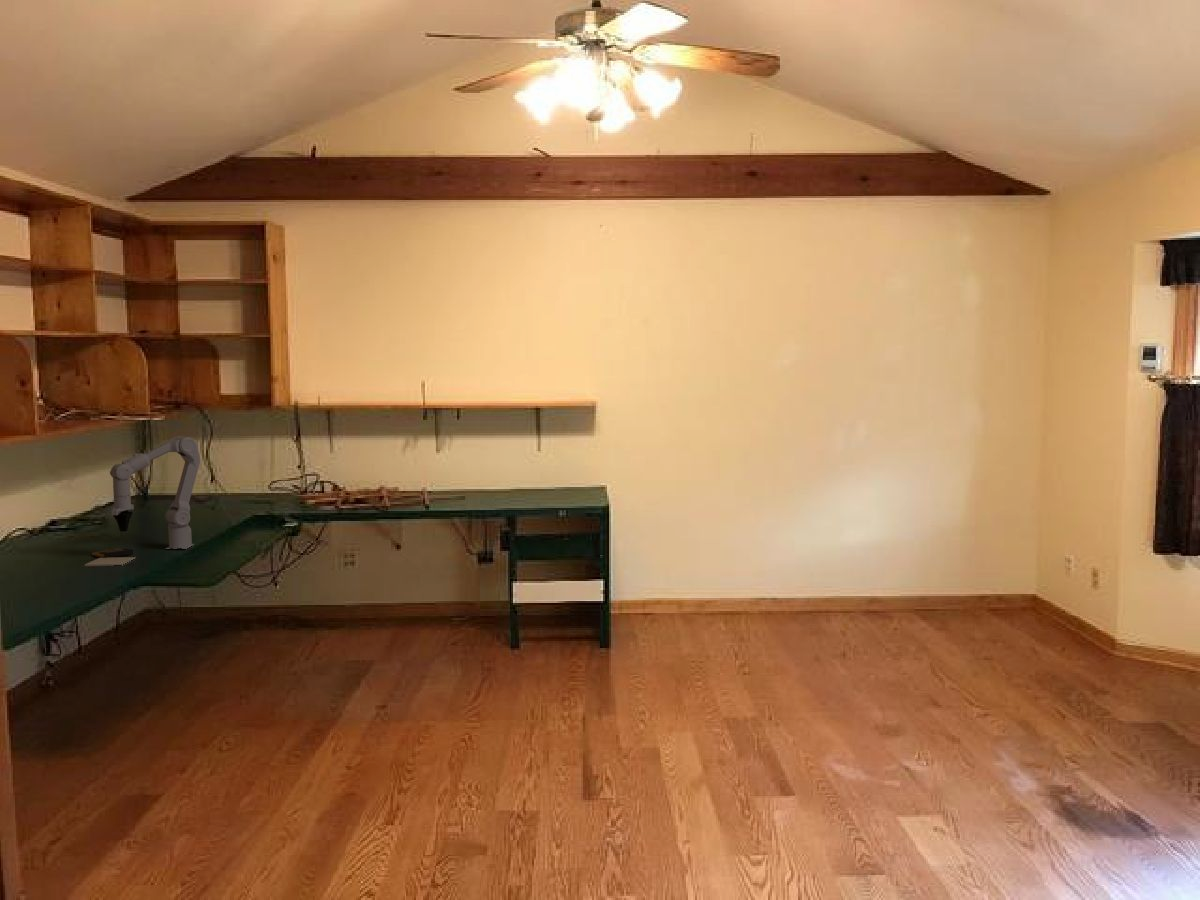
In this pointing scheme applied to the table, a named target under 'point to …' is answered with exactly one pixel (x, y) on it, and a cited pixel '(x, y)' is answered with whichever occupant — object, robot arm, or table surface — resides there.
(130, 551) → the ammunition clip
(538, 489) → the table surface
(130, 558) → the mat
